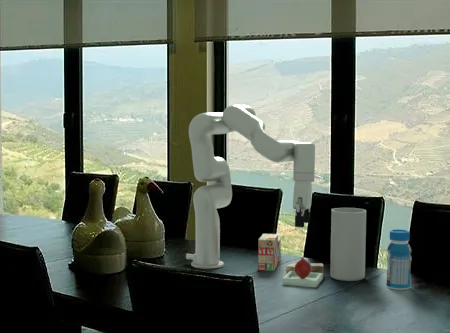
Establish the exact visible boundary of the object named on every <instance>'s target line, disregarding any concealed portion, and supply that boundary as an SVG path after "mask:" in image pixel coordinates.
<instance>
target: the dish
mask: <svg viewBox="0 0 450 333" xmlns="http://www.w3.org/2000/svg"><path fill="white" fill-rule="evenodd" d="M323 279H324V273H313V272H310V274H309V275H308V276H307V277H306V278H305V279H301V278H300V277H299V276H298V275H297V274H296V273H295V271H289V272H288V273H287V274H286V273H285V275H283V277H282V285H283V286H292V287H293V286H294V287H305V288H318V286H319V285H320V283H321V282H322V281H323Z"/></svg>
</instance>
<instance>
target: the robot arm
mask: <svg viewBox="0 0 450 333" xmlns="http://www.w3.org/2000/svg"><path fill="white" fill-rule="evenodd" d="M265 130H266V123H264V122H263V121H262V120H261V119H259V118H258V117H257V114H256V112H255V110H254V108H252V107H251V106H249V105H247V104H233V105H229V106H227V107H226V108H225V109H224V110H223V111H222V112H219V111H217V112H213V111H212V112H208V111H207V112H202V113H199V114H196V115H195V116H194V117H193V118H192V119H191V121H190V123H189V125H188V137H189V143H190V148H191V158H192V165H193V166H192V168H193V173H194V177H195V179H196V180H197V181H198V182H201V183H208V182H210V184H207V185H203V186H199V187H198V188H197V189H196V190H195V192H194V193H193V194H192V202H193V207H194V216H195V221H194V222H195V253H193V254H192V253H186V254H185V259H186V260H192V262H191V263H190V264H191V267H193V268H196V269H204V270H210V269H213V270H214V269H218V268H219V269H220V268H222V267H224V264H225V263H224V261H222V260H220V256H221V252H220V251H221V250H220V245H221V244H220V242H221V241H220V240H221V237H220V236H221V234H220V233H221V228H220V227H221V223H220V222H221V221H220V216H219V213H218V210H217V209H221V208H225V207H227V206H229V205H230V204H231V201H232V199H233V198H232V197H233V188H232V180H231V179H232V178H231V170H230V166H229V164H228V162H227V161H226V160H225V158H223V157H220V156H215V154H214V151H215V150H214V146H213V142H212V141H211V138H210V137H209V136H211V135H224V134H229V133H234V132H236V133H238V134H240V135H241V136H242V137H243V138H246V140H248V141H250V144H251V146H252V147H253V148H254V150H255V151H256V152H257V153H258V154H260V155H261V156H263V157H264V158H266V159H267V160H269V161H271V162H273V163H286V162H287V163H288V162H293V167H292V168H293V170H292V173H293V174H292V181H293V182H294V186H293V194H292V195H293V196H292V198H293V200H292V209H293V210H295V211H294V212H295V213H294V215H295V216H294V227H295V228H304V227H305V224H310V223H311V206H312V201H313V200H312V197H313V196H312V195H313V194H312V191H313V190H312V186H313V185H312V184H313V183H314V182H315V176H316V175H315V174H316V173H315V170H316V169H315V167H316V166H315V165H316V146H315V143H313V142H309V141H308V142H307V141H306V142H305V141H295V140H276V139H274V138H273V137H271V136H270V135H269V134H267V133H266V132H265Z"/></svg>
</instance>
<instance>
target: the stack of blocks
mask: <svg viewBox="0 0 450 333" xmlns="http://www.w3.org/2000/svg"><path fill="white" fill-rule="evenodd" d="M281 239H282V238H281V237H279V234H278V233H262V235H261V236H260V237H259V238H258V239H257V240H258V246H257V247H258V248H257V253H258V254H257V257H258V258H257V260H258V261H257V270H258V271H266V272H267V271H269V272H274V271H275V270H276V268H277V267H278V265H277V264H279V263H280V261H281V260H280V259H281V255H282V254H281V253H282V252H281V251H282V250H281V248H282V245H281ZM278 262H279V263H278Z"/></svg>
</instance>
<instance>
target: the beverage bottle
mask: <svg viewBox="0 0 450 333" xmlns="http://www.w3.org/2000/svg"><path fill="white" fill-rule="evenodd" d="M410 235H411V233H410V231H409V230H407V229H397V228H396V229H391V230H389V240H390V242H389V243H388V246H387V254H386V263H387V264H386V288H388V289H390V290H394V291H406V290H410V289H411V271H412V270H411V265H412V255H411V254H412V247H411V246H410V244H409V241H410V238H411V236H410Z"/></svg>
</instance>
